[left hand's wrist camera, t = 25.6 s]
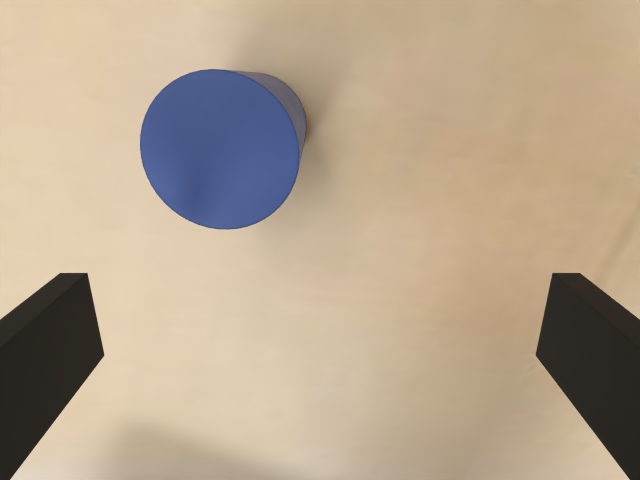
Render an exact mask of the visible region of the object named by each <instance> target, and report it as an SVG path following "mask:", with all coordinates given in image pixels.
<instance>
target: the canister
mask: <svg viewBox="0 0 640 480" xmlns="http://www.w3.org/2000/svg"><path fill="white" fill-rule="evenodd" d="M305 134H306V117H305V113H304V109H303V107H302V104H301V102H300V100H299V98H298V97H297V95H296V94H295V93H294V92H293V90H292V89H291V88H290V87H289V86H288V85H286V84H285V83H284V82H282V81H281V80H279V79H277V78H275V77H273V76H270V75H267V74H261V73H252V72H241V71H231V70H217V69H209V70H200V71H196V72H192V73H189V74H186V75H184V76H181V77H179V78H178V79H176V80H174V81H173V82H171V83H170V84H168V85H167V86H166V87H165V88H164V89H162V91H161V92H160V93H159V94H158V95H157V96H156V97H155V99H154V100H153V102H152V103H151V105H150V106H149V108H148V111H147V113H146V115H145V118H144V121H143V124H142V129H141V135H140V150H141V158H142V163H143V167H144V170H145V172H146V175H147V177H148V179H149V181H150V183H151V185H152V187H153V189H154V190H155V192H156V193H157V195H158V196H159V197H160V198H161V199H162V200H163V202H164V203H165V204H166V205H167V206H169V207H170V208H171V209H172V210H173V211H175V212H176V213H177V214H179V215H180V216H182V217H183V218H185V219H187V220H189V221H191V222H193V223H196V224H198V225H201V226H205V227H208V228H214V229H238V228H243V227H247V226H250V225H253V224H256V223H258V222H260V221H262V220H264V219H265V218H267V217H268V216H270V215H271V214H272V213H274V212H275V211H276V210H277V209H278V208H279V207H280V206H281V205H282V203H283V202H284V201H285V200H286V198H287V197H288V195H289V194H290V192H291V190H292V188H293V186H294V183H295V180H296V177H297V174H298V169H299V164H300V159H301V154H302V149H303V145H304V140H305Z"/></svg>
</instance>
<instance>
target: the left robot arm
mask: <svg viewBox="0 0 640 480" xmlns="http://www.w3.org/2000/svg"><path fill="white" fill-rule="evenodd" d="M103 356H104V351H103V346H102V341H101V337H100V332H99V327H98V322H97V317H96V312H95V308H94V303H93V298H92V293H91V288H90V283H89V279H88V274H87V273H60V274H58V275H57V276H56V277H55V278H53V279H52V280H51V281H49V282H48V283H47V284H46V285H44V286H43V287H42V288H40V289H39V290H38V291H37V292H35V293H34V294H33V295H31V296H30V297H29V298H28V299H26V300H25V301H24V302H22V303H21V304H20V305H19V306H17V307H16V308H15V309H13V310H12V311H11V312H10V313H8V314H7V315H6V316H4V317H3V318H2V319H1V320H0V480H10V479H11V478H12V476H13V475H14V474H15V472H16V471H17V470H18V468H19V467H20V466H21V465H22V463H23V462H24V461H25V459H26V458H27V457H28V455H29V454H30V453H31V451H32V450H33V449H34V447H35V446H36V445H37V443H38V442H39V441H40V439H41V438H42V437H43V436H44V434H45V433H46V432H47V430H48V429H49V428H50V426H51V425H52V424H53V422H54V421H55V420H56V418H57V417H58V416H59V414H60V413H61V412H62V410H63V409H64V408H65V407H66V405H67V404H68V403H69V401H70V400H71V399H72V397H73V396H74V395H75V393H76V392H77V391H78V389H79V388H80V387H81V385H82V384H83V383H84V382H85V380H86V379H87V378H88V376H89V375H90V374H91V372H92V371H93V370H94V368H95V367H96V366H97V364H98V363H99V362H100V360H101V359H102V358H103ZM536 356H537V358H538V359H539V360H540V362H541V363H542V364H543V366H544V367H545V368H546V370H547V371H548V372H549V374H550V375H551V376H552V378H553V379H554V380H555V382H556V383H557V384H558V385H559V387H560V388H561V389H562V391H563V392H564V393H565V395H566V396H567V397H568V399H569V400H570V401H571V403H572V404H573V405H574V407H575V408H576V409H577V410H578V412H579V413H580V414H581V416H582V417H583V418H584V420H585V421H586V422H587V424H588V425H589V426H590V428H591V429H592V430H593V432H594V433H595V434H596V436H597V437H598V438H599V439H600V441H601V442H602V443H603V445H604V446H605V447H606V449H607V450H608V451H609V453H610V454H611V455H612V457H613V458H614V459H615V461H616V462H617V463H618V465H619V466H620V467H621V468H622V470H623V471H624V472H625V474H626V475H627V476H628V478H629V479H630V480H640V320H639V319H638V318H637V317H636V316H634V315H633V314H632V313H630V312H629V311H628V310H627V309H625V308H624V307H623V306H621V305H620V304H619V303H618V302H616V301H615V300H614V299H612V298H611V297H610V296H609V295H607V294H606V293H605V292H603V291H602V290H601V289H600V288H598V287H597V286H596V285H594V284H593V283H592V282H591V281H589V280H588V279H587V278H585V277H584V276H583V275H582V274H580V273H553V274H552V279H551V283H550V288H549V293H548V298H547V303H546V308H545V312H544V317H543V322H542V327H541V332H540V337H539V341H538V346H537V351H536Z"/></svg>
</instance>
